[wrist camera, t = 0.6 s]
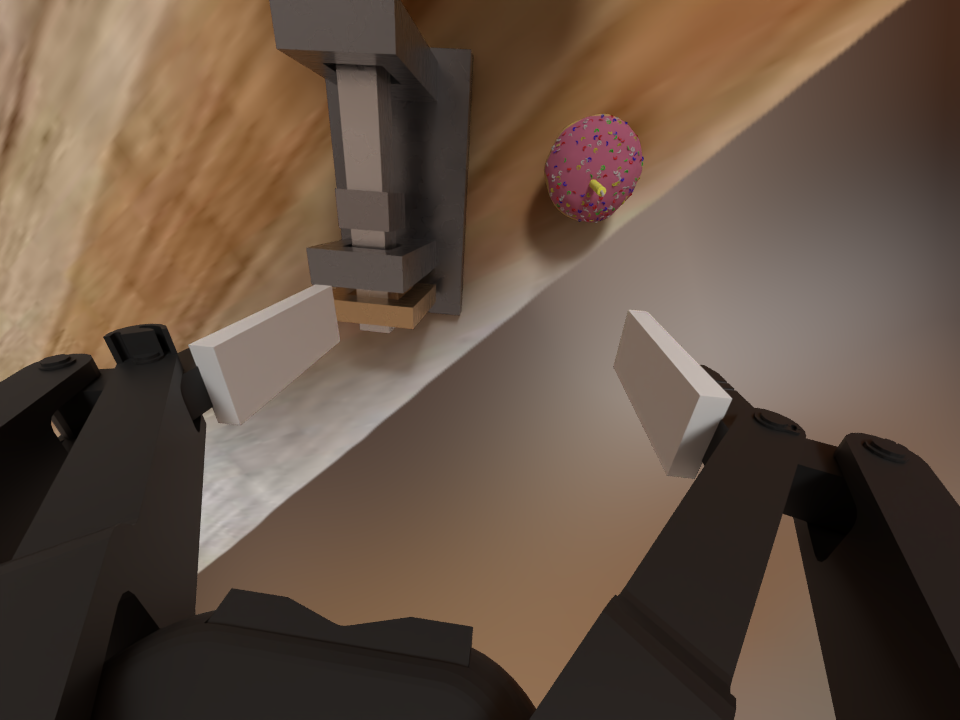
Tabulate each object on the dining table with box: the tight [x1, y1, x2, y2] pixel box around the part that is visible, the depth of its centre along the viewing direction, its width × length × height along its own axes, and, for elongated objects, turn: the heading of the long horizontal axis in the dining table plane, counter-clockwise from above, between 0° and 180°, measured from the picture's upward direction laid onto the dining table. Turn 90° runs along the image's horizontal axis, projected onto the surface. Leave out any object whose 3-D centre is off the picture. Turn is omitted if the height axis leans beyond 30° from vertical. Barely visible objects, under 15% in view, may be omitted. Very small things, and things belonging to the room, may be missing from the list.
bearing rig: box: [269, 0, 473, 315], centre depth 32 cm, size 25×14×14 cm, turn 176°
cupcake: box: [544, 114, 644, 223], centre depth 29 cm, size 9×8×12 cm
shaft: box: [335, 63, 405, 333], centre depth 30 cm, size 24×4×4 cm, turn 176°
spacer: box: [332, 283, 436, 329], centre depth 35 cm, size 2×9×9 cm, turn 86°
